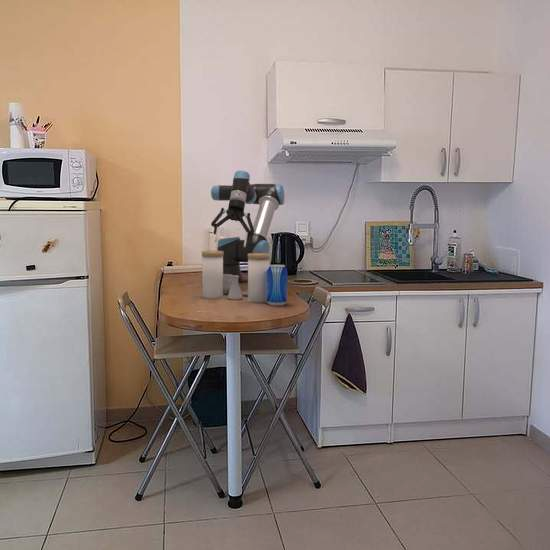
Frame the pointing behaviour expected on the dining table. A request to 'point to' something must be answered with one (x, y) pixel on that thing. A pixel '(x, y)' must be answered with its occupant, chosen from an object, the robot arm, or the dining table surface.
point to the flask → (235, 289)
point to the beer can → (276, 285)
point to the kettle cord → (242, 294)
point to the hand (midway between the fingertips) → (230, 243)
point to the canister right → (257, 276)
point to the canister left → (212, 274)
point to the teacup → (227, 282)
